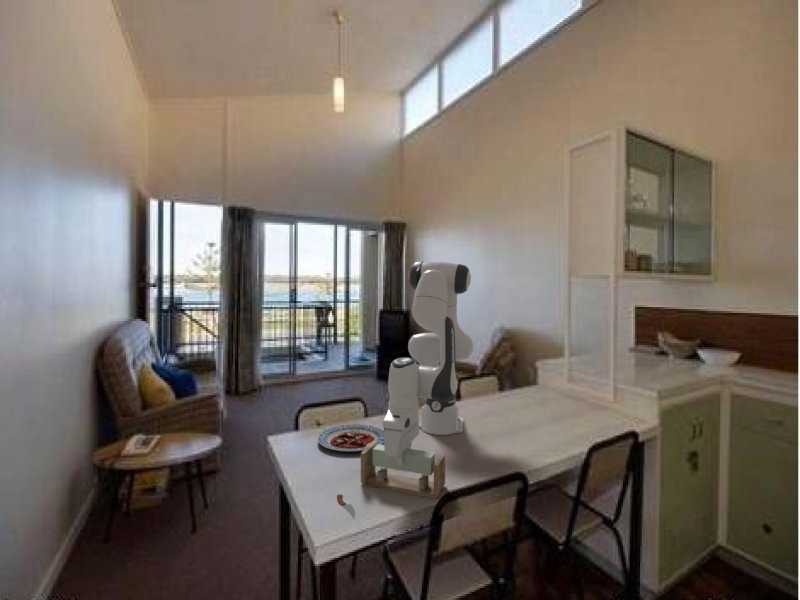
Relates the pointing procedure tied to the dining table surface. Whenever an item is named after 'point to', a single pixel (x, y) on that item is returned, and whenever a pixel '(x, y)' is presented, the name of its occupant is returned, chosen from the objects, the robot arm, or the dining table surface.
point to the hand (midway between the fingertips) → (403, 460)
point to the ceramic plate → (351, 437)
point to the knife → (346, 505)
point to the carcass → (402, 483)
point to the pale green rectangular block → (406, 460)
